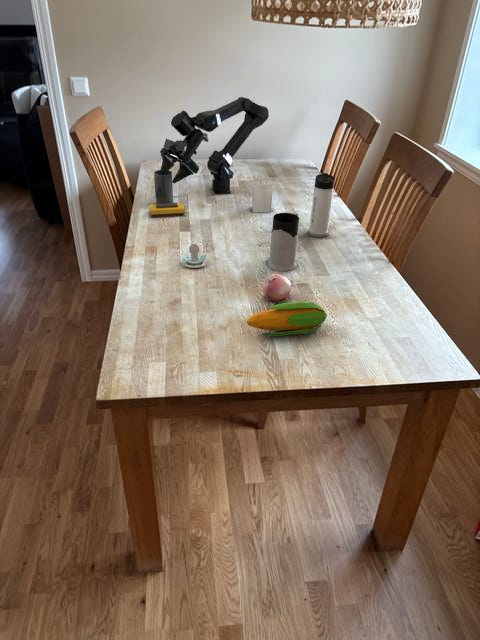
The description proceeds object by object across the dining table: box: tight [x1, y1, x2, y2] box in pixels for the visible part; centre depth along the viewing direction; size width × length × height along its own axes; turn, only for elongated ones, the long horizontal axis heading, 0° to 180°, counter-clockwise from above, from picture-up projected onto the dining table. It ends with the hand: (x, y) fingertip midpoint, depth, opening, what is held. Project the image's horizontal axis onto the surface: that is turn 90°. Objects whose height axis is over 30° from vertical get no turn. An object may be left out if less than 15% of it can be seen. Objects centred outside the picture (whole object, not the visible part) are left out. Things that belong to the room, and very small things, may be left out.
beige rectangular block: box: [251, 183, 273, 213], centre depth 182 cm, size 4×7×10 cm, turn 93°
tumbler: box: [153, 169, 174, 204], centre depth 183 cm, size 6×6×12 cm
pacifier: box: [181, 243, 207, 269], centre depth 146 cm, size 7×6×6 cm
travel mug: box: [308, 172, 336, 238], centre depth 163 cm, size 6×7×20 cm
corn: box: [246, 301, 328, 337], centre depth 119 cm, size 7×8×20 cm
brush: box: [149, 202, 186, 218], centre depth 178 cm, size 12×6×4 cm, turn 103°
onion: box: [262, 273, 292, 304], centre depth 132 cm, size 8×8×7 cm
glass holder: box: [267, 211, 300, 272], centre depth 148 cm, size 9×14×15 cm, turn 155°
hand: (166, 179), depth 181 cm, fingers open, 9 cm apart
